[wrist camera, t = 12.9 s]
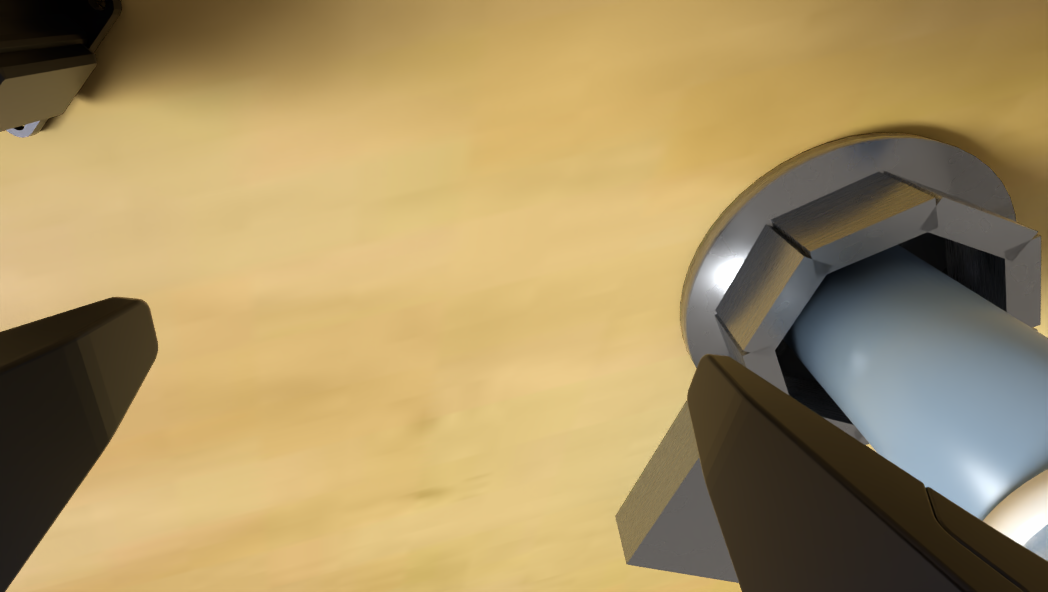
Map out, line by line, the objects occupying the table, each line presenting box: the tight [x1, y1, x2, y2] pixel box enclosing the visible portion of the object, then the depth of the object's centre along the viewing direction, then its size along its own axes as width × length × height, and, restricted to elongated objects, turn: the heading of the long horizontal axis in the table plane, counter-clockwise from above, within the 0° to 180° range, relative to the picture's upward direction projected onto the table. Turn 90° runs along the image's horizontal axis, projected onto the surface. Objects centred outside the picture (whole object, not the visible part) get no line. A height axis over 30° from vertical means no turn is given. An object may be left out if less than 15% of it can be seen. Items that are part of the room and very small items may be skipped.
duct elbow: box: [783, 245, 1048, 561], centre depth 18 cm, size 10×6×12 cm, turn 82°
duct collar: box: [616, 133, 1041, 583], centre depth 24 cm, size 24×14×4 cm, turn 162°
